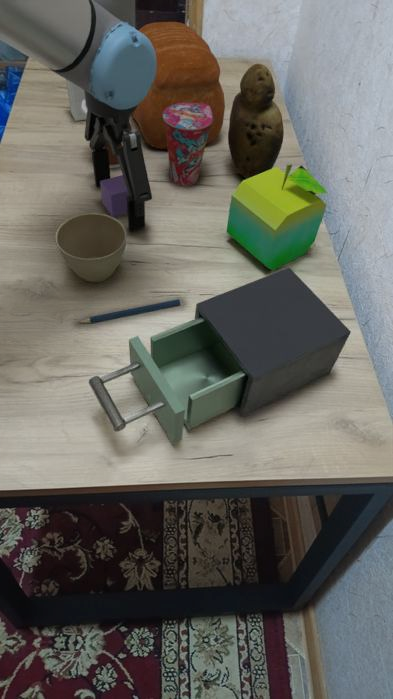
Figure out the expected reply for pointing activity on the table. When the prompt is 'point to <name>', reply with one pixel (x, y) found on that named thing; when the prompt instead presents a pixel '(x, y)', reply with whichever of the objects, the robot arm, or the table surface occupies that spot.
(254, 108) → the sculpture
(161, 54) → the bread
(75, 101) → the cosmetic box
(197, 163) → the cup
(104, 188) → the purple cube
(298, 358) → the charcoal drawer box
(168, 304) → the pencil
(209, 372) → the green drawer
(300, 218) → the apple
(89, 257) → the flower pot
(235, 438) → the table surface
